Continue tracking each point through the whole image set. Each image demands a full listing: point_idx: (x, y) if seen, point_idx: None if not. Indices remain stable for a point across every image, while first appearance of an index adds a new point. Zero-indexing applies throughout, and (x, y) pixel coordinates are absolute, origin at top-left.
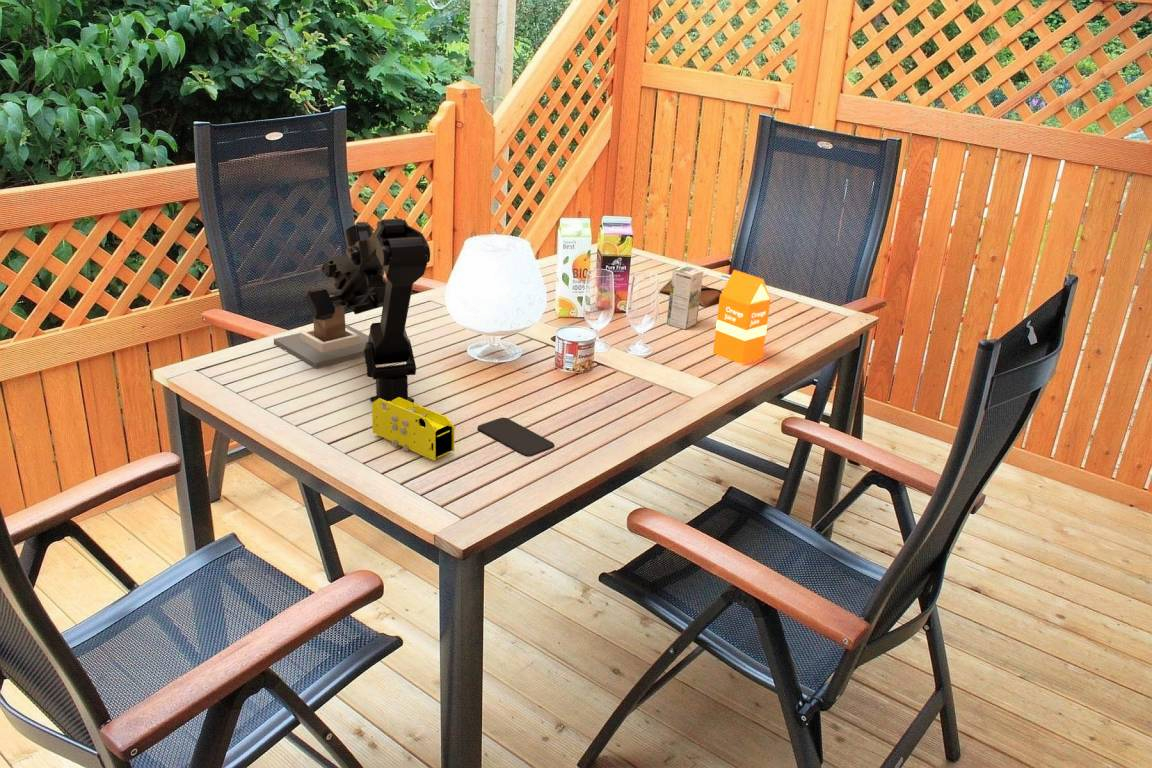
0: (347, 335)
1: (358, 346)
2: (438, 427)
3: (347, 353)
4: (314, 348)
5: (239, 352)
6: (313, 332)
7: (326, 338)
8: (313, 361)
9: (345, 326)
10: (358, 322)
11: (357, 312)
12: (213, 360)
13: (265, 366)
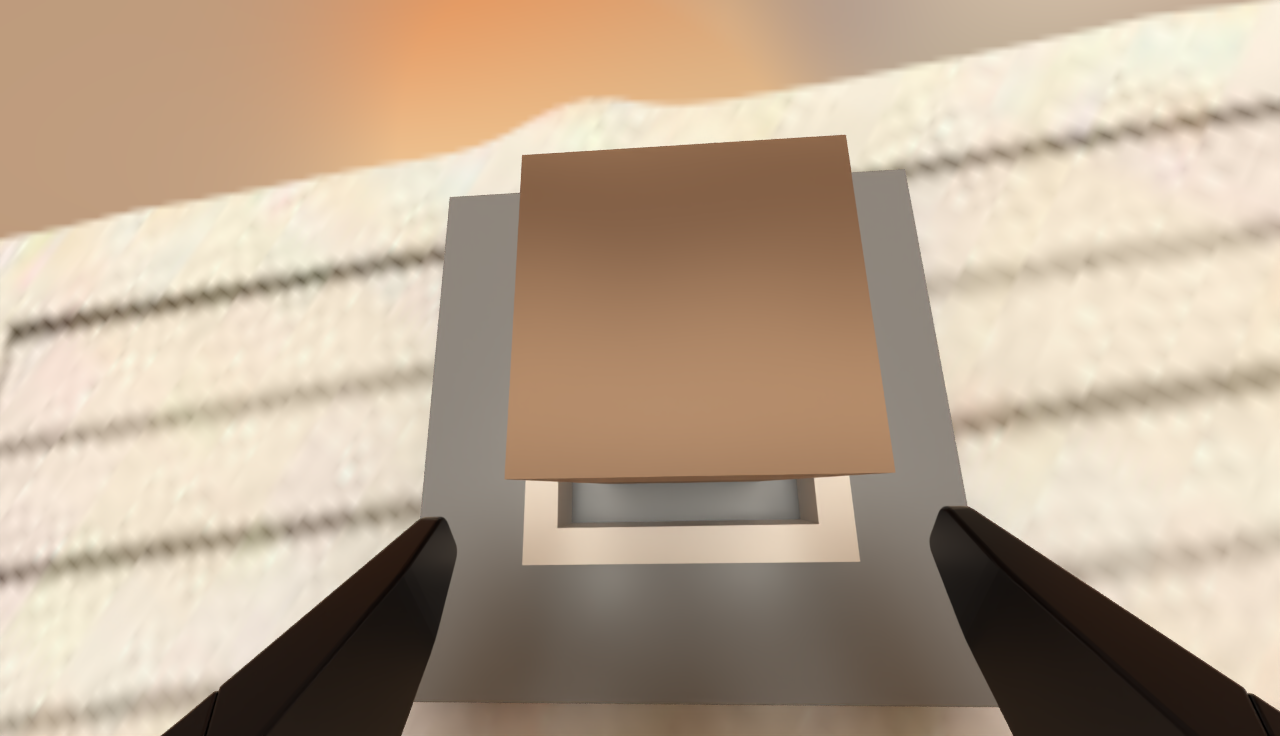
0: None
1: (800, 593)
2: None
3: (668, 673)
4: None
5: (280, 229)
6: None
7: (603, 483)
8: None
9: (889, 224)
10: (1007, 155)
11: (964, 623)
12: (140, 258)
13: (248, 470)
